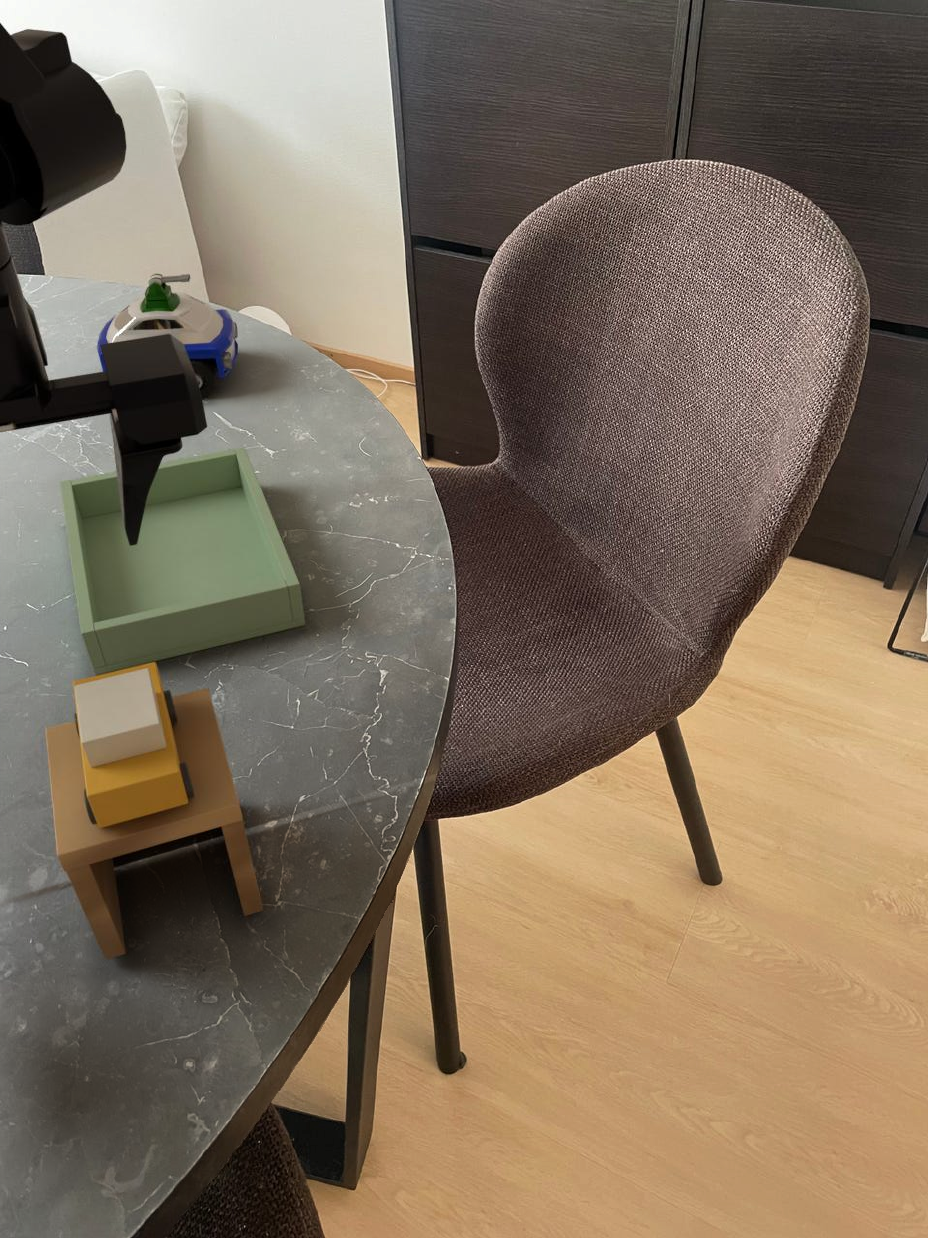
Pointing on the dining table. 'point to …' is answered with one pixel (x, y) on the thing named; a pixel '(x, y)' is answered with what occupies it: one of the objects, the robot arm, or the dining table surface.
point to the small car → (129, 746)
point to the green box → (178, 563)
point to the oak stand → (146, 818)
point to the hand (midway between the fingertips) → (41, 559)
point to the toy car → (179, 328)
